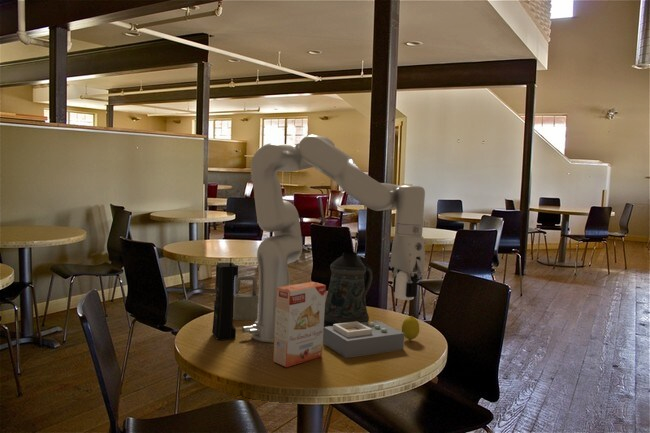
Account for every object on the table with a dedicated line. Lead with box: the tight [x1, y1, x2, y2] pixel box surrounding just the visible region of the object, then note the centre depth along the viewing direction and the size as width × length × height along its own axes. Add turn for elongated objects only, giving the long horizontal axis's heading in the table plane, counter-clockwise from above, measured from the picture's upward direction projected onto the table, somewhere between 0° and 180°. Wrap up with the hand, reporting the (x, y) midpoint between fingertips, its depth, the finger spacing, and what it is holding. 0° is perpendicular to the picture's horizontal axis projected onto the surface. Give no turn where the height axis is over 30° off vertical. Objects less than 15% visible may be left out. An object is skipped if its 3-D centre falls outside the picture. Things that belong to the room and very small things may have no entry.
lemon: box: [401, 315, 420, 342], centre depth 166 cm, size 6×6×8 cm
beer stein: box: [324, 251, 374, 327], centre depth 181 cm, size 16×19×25 cm
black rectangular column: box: [211, 257, 239, 341], centre depth 162 cm, size 8×6×25 cm
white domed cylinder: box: [394, 270, 415, 301], centre depth 147 cm, size 5×5×8 cm
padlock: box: [233, 275, 259, 321], centre depth 183 cm, size 4×8×15 cm, turn 110°
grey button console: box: [323, 320, 405, 359], centre depth 159 cm, size 20×14×6 cm
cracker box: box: [272, 281, 327, 368], centre depth 145 cm, size 14×6×21 cm, turn 137°
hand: (404, 293), depth 147 cm, fingers closed on white domed cylinder, 5 cm apart
